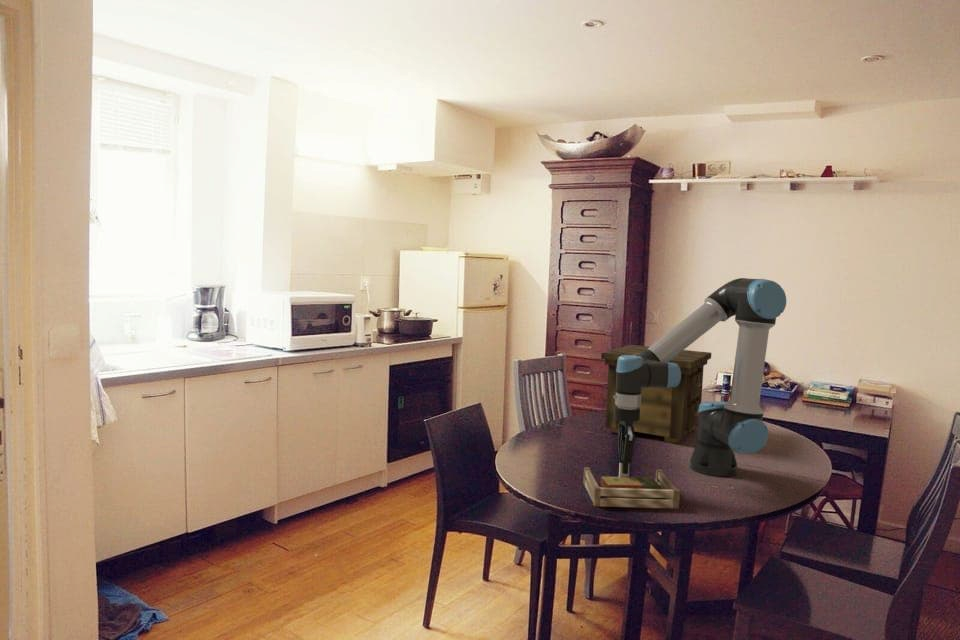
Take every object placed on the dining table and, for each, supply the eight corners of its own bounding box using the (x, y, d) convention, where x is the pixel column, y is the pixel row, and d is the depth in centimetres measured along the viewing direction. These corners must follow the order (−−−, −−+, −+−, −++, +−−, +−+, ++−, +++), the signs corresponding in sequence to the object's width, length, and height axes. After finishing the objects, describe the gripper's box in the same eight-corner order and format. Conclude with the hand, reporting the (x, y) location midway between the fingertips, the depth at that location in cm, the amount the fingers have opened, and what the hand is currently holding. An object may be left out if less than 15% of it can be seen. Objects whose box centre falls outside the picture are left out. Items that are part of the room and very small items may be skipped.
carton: (599, 489, 193) (600, 475, 193) (651, 489, 194) (651, 475, 194) (607, 499, 185) (608, 484, 184) (661, 499, 186) (661, 485, 186)
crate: (626, 416, 286) (629, 344, 283) (706, 429, 268) (711, 352, 265) (597, 433, 257) (601, 352, 254) (685, 448, 238) (691, 362, 235)
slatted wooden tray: (660, 486, 196) (661, 469, 196) (678, 508, 178) (680, 490, 178) (583, 483, 196) (584, 467, 196) (594, 506, 178) (595, 488, 177)
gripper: (610, 401, 199) (606, 475, 201) (619, 411, 186) (615, 489, 188) (634, 402, 199) (630, 475, 201) (645, 412, 186) (641, 490, 188)
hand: (623, 482), depth 194 cm, fingers closed
